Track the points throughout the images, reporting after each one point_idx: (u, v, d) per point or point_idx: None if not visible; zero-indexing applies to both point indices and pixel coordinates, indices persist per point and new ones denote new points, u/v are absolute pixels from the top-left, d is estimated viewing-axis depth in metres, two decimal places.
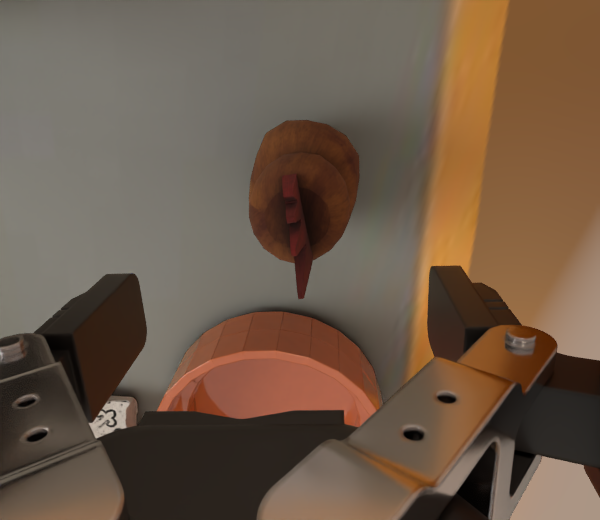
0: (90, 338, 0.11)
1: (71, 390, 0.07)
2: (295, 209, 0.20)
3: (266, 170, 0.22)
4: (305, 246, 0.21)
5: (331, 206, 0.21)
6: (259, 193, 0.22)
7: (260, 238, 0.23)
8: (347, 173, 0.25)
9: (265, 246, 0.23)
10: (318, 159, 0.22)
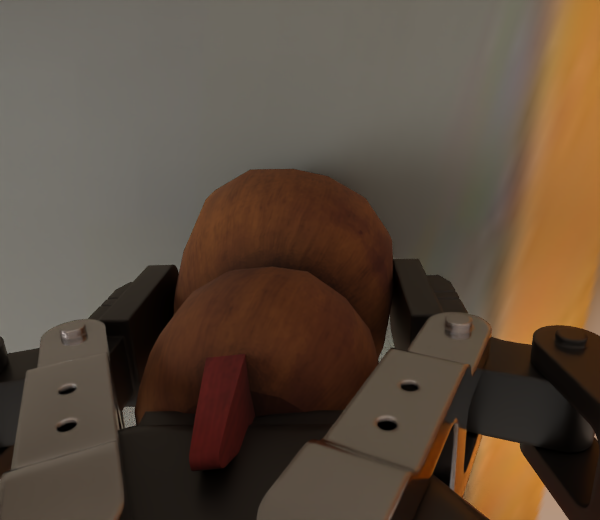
0: (141, 325, 0.12)
1: (109, 383, 0.08)
2: None
3: (174, 326, 0.09)
4: None
5: None
6: (152, 394, 0.08)
7: None
8: (374, 295, 0.12)
9: None
10: (306, 301, 0.09)
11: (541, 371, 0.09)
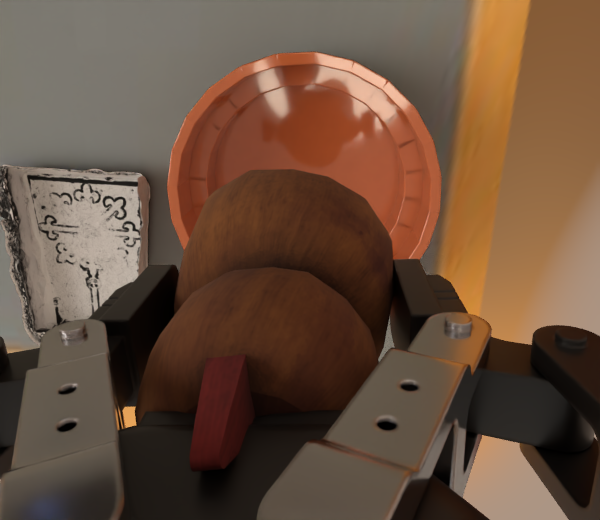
0: (141, 325, 0.12)
1: (109, 383, 0.08)
2: None
3: (175, 326, 0.09)
4: None
5: None
6: (152, 394, 0.08)
7: None
8: (374, 295, 0.12)
9: None
10: (307, 302, 0.09)
11: (541, 371, 0.09)
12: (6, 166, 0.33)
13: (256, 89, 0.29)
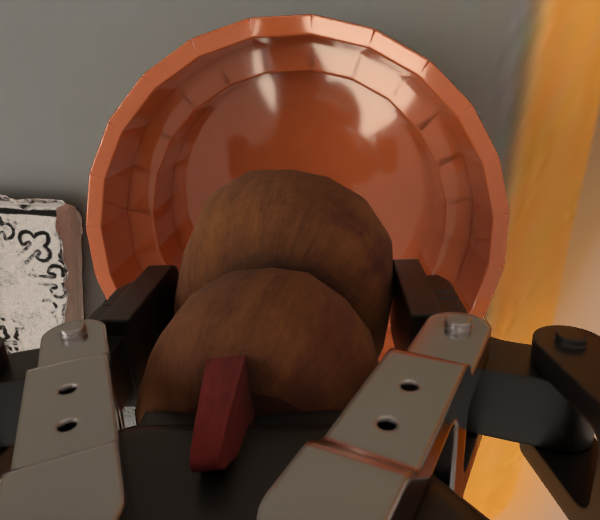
0: (142, 325, 0.12)
1: (109, 383, 0.08)
2: None
3: (175, 327, 0.09)
4: None
5: None
6: (152, 395, 0.08)
7: None
8: (374, 295, 0.12)
9: None
10: (307, 303, 0.09)
11: (541, 371, 0.09)
12: None
13: (222, 78, 0.19)
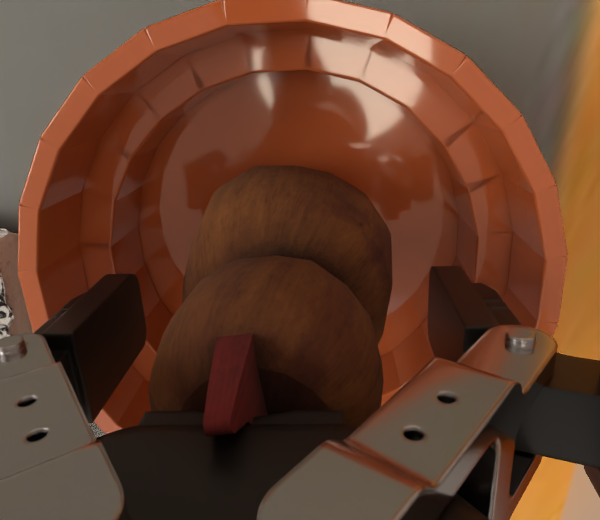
0: (90, 338, 0.11)
1: (71, 390, 0.07)
2: None
3: (186, 309, 0.09)
4: None
5: None
6: (165, 372, 0.09)
7: None
8: (373, 284, 0.12)
9: None
10: (310, 286, 0.09)
11: None
12: None
13: (194, 80, 0.15)
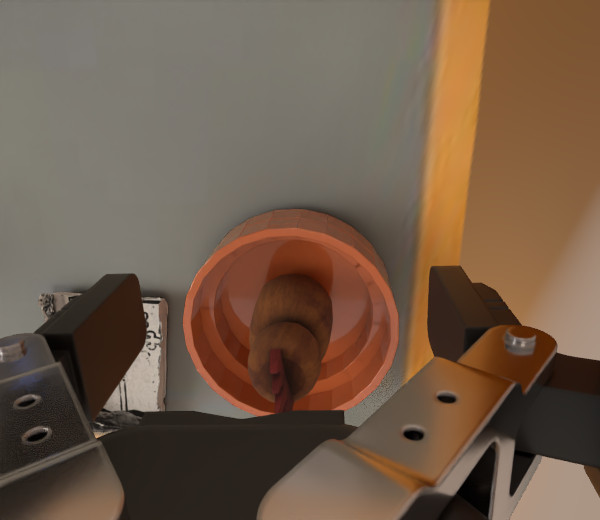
0: (90, 338, 0.11)
1: (71, 390, 0.07)
2: (278, 381, 0.29)
3: (259, 340, 0.31)
4: (287, 401, 0.30)
5: (306, 370, 0.30)
6: (255, 359, 0.30)
7: (256, 388, 0.31)
8: (321, 329, 0.34)
9: (259, 393, 0.31)
10: (296, 334, 0.31)
11: None
12: (52, 294, 0.41)
13: (252, 243, 0.37)
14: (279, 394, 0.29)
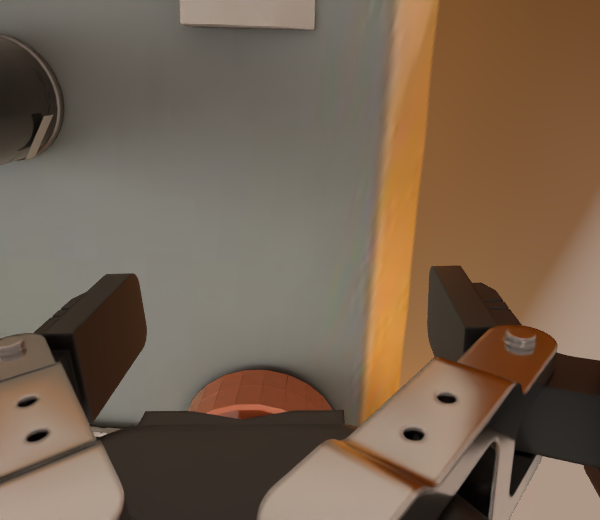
0: (90, 338, 0.11)
1: (71, 390, 0.07)
2: None
3: None
4: None
5: None
6: None
7: None
8: None
9: None
10: None
11: None
12: None
13: None
14: None
